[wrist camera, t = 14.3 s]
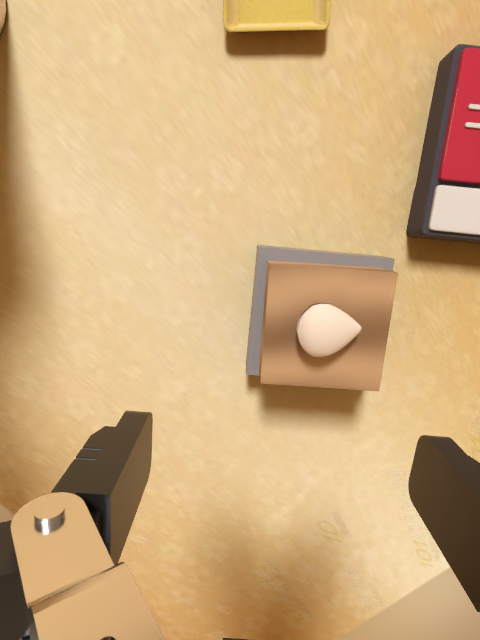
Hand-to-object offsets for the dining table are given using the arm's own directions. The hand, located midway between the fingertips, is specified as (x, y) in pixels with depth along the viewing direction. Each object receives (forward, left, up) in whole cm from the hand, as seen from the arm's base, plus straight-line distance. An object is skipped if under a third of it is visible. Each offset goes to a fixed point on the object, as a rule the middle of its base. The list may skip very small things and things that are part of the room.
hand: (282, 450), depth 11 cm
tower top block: (+1, +6, -24) cm, 25 cm away
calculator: (-15, +19, -28) cm, 37 cm away
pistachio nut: (+1, +5, -20) cm, 21 cm away
